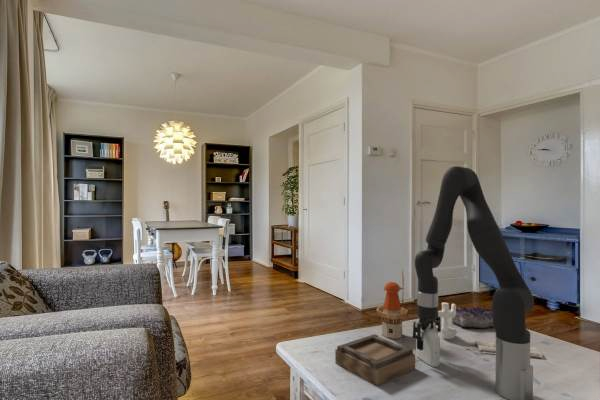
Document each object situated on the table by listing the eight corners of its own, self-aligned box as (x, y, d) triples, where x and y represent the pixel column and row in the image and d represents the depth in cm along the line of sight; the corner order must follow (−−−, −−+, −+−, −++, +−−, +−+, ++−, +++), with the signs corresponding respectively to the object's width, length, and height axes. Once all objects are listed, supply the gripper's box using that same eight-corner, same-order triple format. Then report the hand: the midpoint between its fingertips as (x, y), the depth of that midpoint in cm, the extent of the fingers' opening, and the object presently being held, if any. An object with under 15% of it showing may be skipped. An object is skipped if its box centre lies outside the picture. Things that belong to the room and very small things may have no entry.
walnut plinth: (415, 368, 126) (415, 350, 126) (377, 385, 114) (377, 365, 114) (372, 349, 142) (372, 333, 142) (335, 363, 130) (335, 345, 130)
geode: (488, 321, 177) (490, 302, 176) (501, 333, 165) (503, 312, 164) (447, 319, 177) (449, 300, 176) (457, 331, 165) (459, 310, 164)
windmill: (415, 344, 148) (416, 272, 148) (381, 344, 147) (381, 272, 148) (403, 329, 165) (403, 264, 165) (372, 329, 165) (373, 264, 165)
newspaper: (480, 355, 139) (479, 348, 139) (474, 346, 151) (474, 340, 151) (547, 363, 132) (547, 355, 132) (536, 353, 144) (536, 346, 144)
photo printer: (441, 366, 128) (441, 332, 128) (431, 367, 127) (431, 333, 127) (423, 354, 138) (423, 322, 138) (414, 355, 137) (414, 323, 137)
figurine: (431, 334, 159) (431, 300, 159) (450, 333, 160) (450, 300, 160) (439, 340, 152) (439, 305, 152) (460, 339, 153) (460, 304, 153)
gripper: (425, 309, 125) (424, 355, 125) (447, 302, 134) (446, 345, 134) (407, 304, 131) (406, 347, 131) (429, 298, 140) (429, 339, 140)
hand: (426, 346), depth 133 cm, fingers open, 8 cm apart
